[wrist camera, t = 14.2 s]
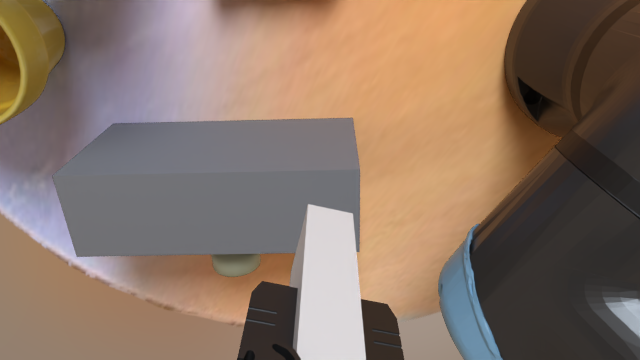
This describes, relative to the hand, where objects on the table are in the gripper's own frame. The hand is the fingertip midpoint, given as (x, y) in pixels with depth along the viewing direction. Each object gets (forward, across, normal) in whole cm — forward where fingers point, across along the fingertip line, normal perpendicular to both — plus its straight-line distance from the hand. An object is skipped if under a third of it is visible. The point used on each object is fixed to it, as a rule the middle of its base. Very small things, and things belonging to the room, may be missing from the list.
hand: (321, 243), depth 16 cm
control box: (+28, -6, -11) cm, 31 cm away
